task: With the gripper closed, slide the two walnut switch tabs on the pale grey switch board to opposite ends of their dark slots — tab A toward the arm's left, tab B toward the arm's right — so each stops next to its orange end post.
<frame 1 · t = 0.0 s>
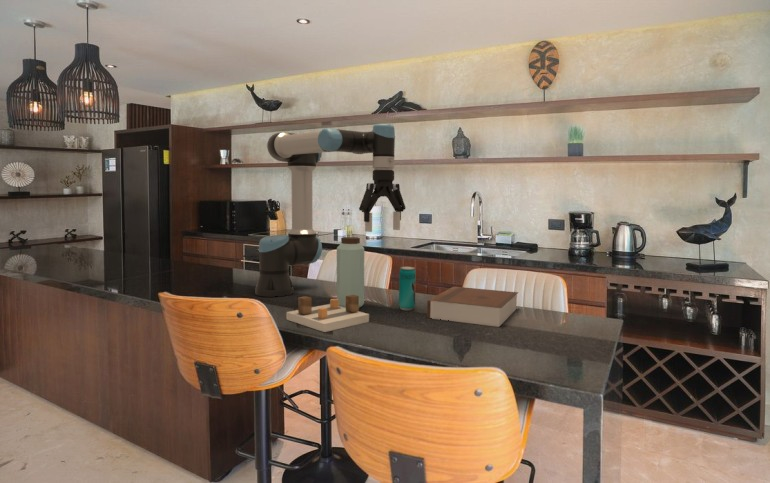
hand: (382, 230, 180), 28 cm above the kitchen island, fingers open, 13 cm apart
tab B: (352, 303, 167), point 5 cm above the kitchen island, slide at 0.0 cm
book: (474, 315, 178), on the kitchen island
tab A: (304, 305, 164), point 5 cm above the kitchen island, slide at 0.0 cm
water bottle: (350, 306, 187), on the kitchen island
switch board: (327, 320, 166), on the kitchen island
beverage can: (406, 309, 183), on the kitchen island
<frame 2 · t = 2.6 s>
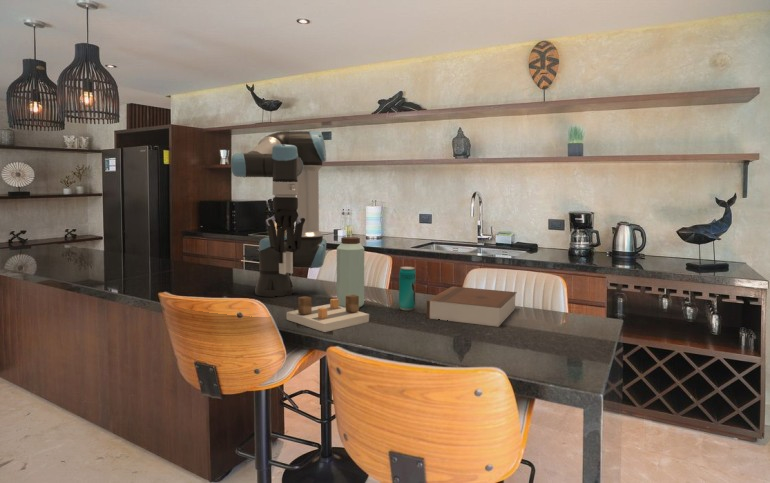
hand: (285, 273, 158), 16 cm above the kitchen island, fingers closed
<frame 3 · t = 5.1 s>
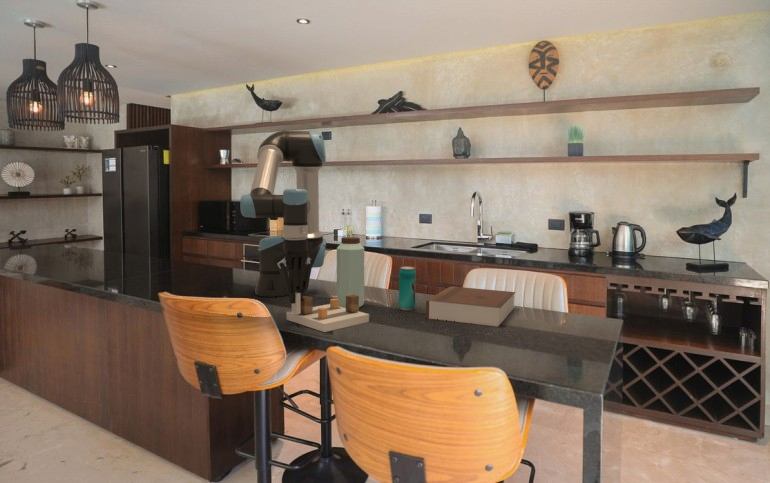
hand: (296, 312, 162), 3 cm above the kitchen island, fingers closed
tab A: (305, 305, 164), point 5 cm above the kitchen island, slide at 0.4 cm, touching gripper
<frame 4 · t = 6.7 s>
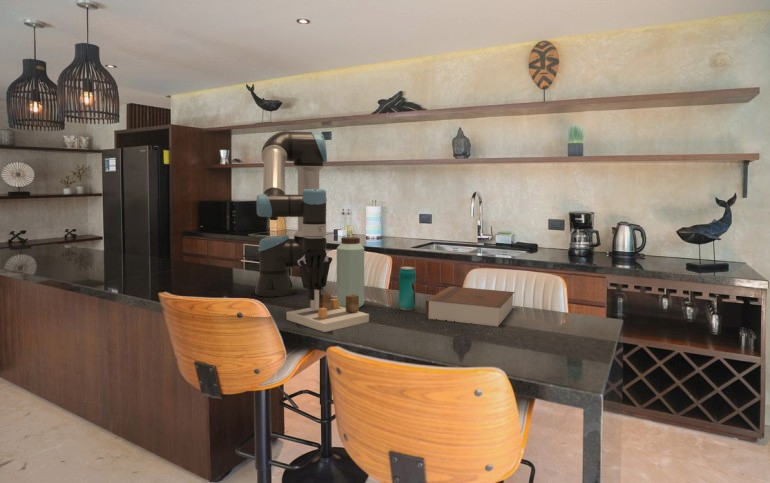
hand: (314, 309, 167), 3 cm above the kitchen island, fingers closed
tab A: (323, 301, 169), point 5 cm above the kitchen island, slide at 7.6 cm, touching gripper
everything else where it was.
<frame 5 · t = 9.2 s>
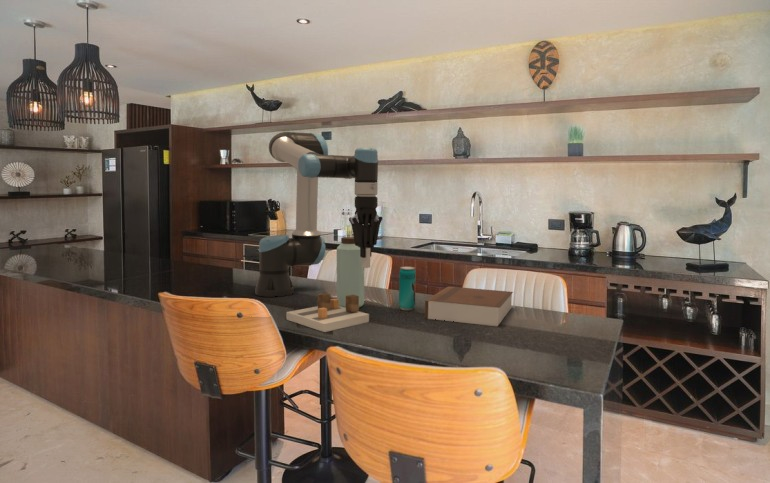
hand: (365, 267, 170), 17 cm above the kitchen island, fingers closed
tab A: (324, 301, 169), point 5 cm above the kitchen island, slide at 7.7 cm
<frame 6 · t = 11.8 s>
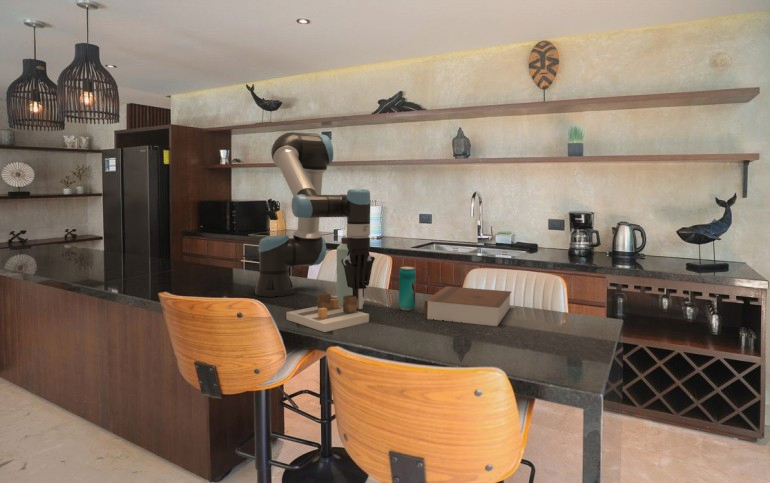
hand: (358, 307, 169), 3 cm above the kitchen island, fingers closed
tab B: (349, 303, 166), point 5 cm above the kitchen island, slide at 1.0 cm, touching gripper
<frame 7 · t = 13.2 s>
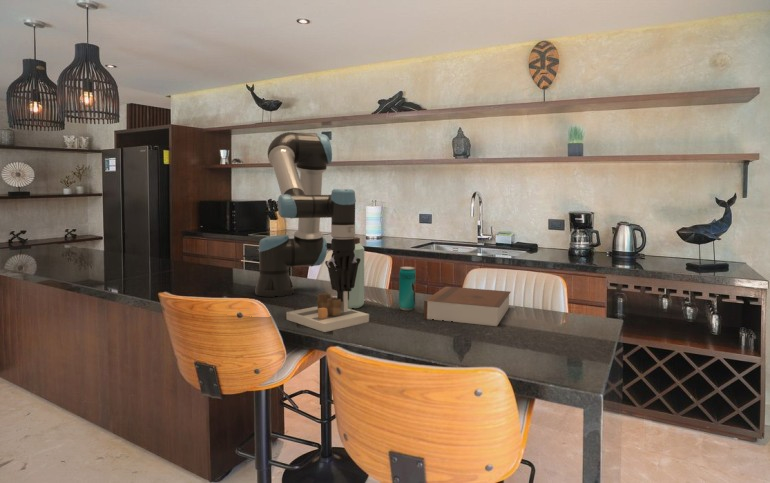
hand: (343, 310, 165), 3 cm above the kitchen island, fingers closed
tab B: (334, 306, 162), point 5 cm above the kitchen island, slide at 7.5 cm, touching gripper
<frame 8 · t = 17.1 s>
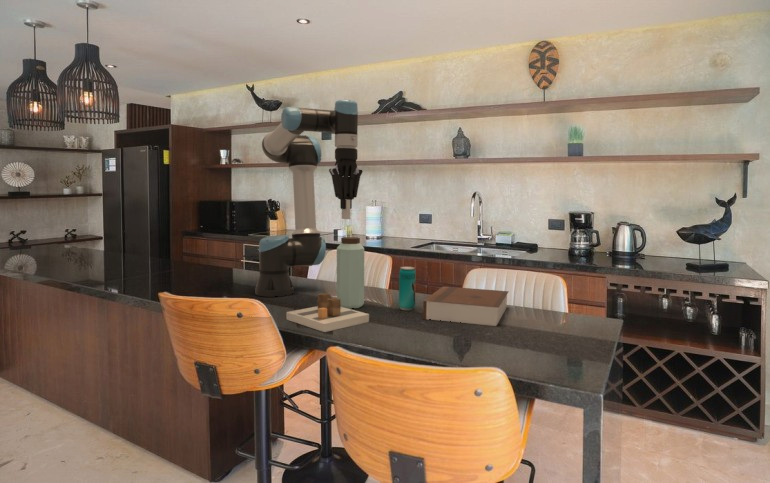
hand: (346, 218, 173), 32 cm above the kitchen island, fingers closed
tab B: (333, 307, 162), point 5 cm above the kitchen island, slide at 7.6 cm
at the end: tab A slide at 7.7 cm; tab B slide at 7.6 cm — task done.
